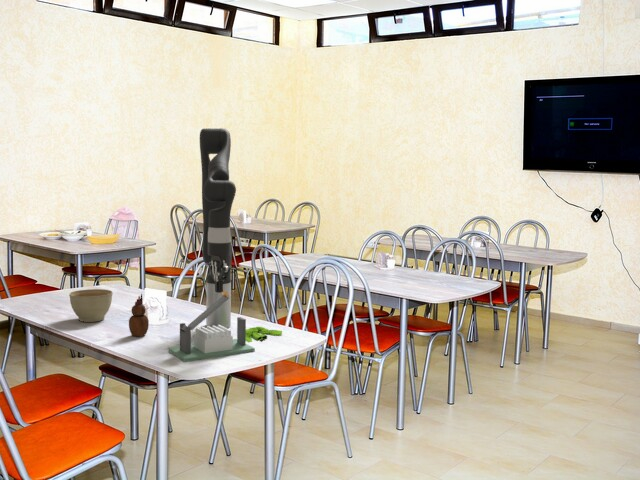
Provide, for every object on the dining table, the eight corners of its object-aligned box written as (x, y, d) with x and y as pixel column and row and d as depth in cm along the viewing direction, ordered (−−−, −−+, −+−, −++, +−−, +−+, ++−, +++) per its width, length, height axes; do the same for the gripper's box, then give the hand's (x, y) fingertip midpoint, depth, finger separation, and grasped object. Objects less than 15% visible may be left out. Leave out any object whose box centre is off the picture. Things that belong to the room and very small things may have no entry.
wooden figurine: (142, 332, 259) (142, 292, 258) (151, 335, 255) (151, 294, 254) (126, 335, 255) (125, 294, 253) (134, 338, 251) (134, 297, 249)
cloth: (257, 327, 274) (257, 321, 273) (302, 337, 261) (302, 330, 261) (220, 337, 257) (220, 331, 257) (267, 348, 244) (267, 341, 244)
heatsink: (168, 350, 236) (168, 321, 235) (236, 341, 250) (236, 313, 249) (184, 361, 225) (184, 330, 223) (254, 351, 238) (255, 322, 237)
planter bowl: (117, 315, 285) (117, 288, 284) (106, 325, 269) (106, 296, 268) (77, 314, 285) (76, 288, 284) (63, 324, 269) (63, 296, 268)
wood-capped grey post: (187, 334, 230) (183, 328, 229) (183, 332, 233) (179, 326, 232) (230, 297, 237) (226, 291, 236) (226, 295, 240) (222, 290, 239)
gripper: (238, 242, 231) (237, 294, 233) (221, 238, 242) (220, 288, 244) (217, 243, 227) (217, 296, 229) (200, 239, 238) (200, 289, 240)
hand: (218, 292), depth 236 cm, fingers closed
